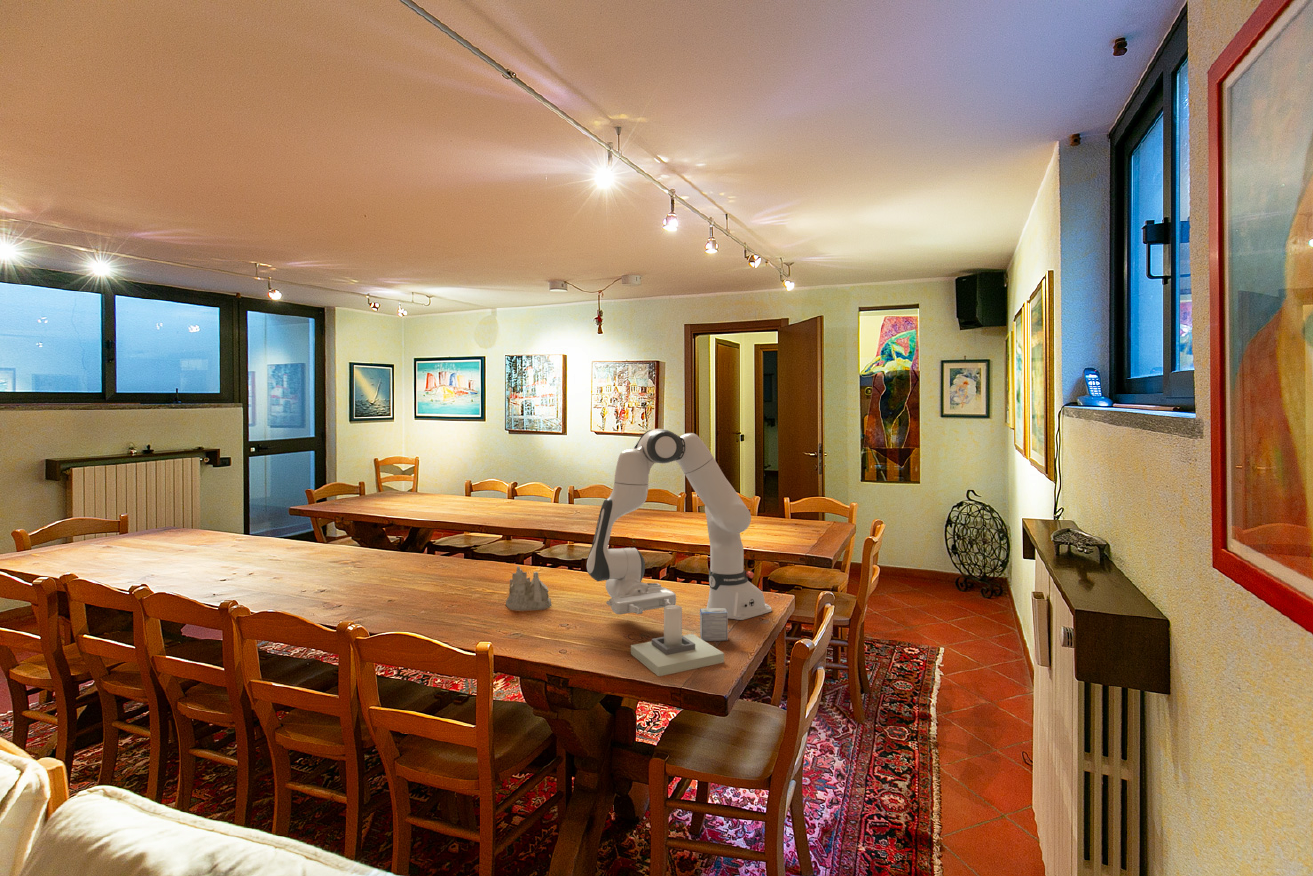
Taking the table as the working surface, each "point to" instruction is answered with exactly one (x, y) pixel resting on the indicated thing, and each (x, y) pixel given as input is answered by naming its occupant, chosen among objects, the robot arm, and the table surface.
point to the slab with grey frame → (676, 655)
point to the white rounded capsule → (672, 626)
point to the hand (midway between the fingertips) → (654, 609)
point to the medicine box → (714, 624)
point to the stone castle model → (527, 592)
